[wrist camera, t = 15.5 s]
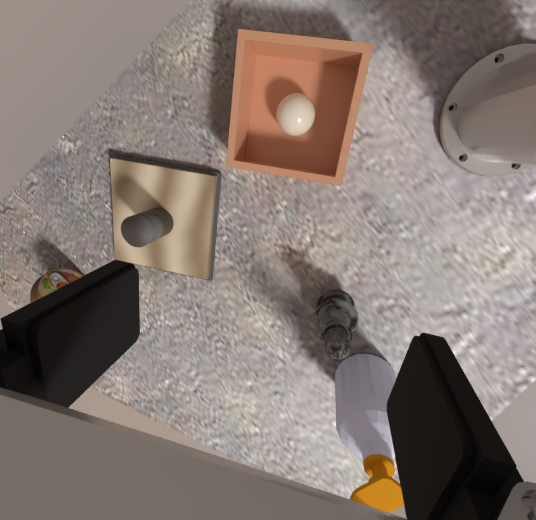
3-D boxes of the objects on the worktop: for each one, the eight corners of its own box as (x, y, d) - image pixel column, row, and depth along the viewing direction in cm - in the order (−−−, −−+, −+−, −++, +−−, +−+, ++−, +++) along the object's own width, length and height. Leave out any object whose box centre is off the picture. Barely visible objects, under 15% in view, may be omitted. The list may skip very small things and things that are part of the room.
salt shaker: (309, 293, 44) (303, 342, 33) (349, 283, 42) (357, 330, 31) (322, 327, 46) (320, 384, 34) (361, 318, 44) (372, 375, 33)
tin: (124, 332, 53) (90, 363, 46) (112, 337, 54) (76, 369, 47) (74, 259, 50) (27, 279, 42) (62, 266, 51) (14, 287, 43)
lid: (217, 175, 40) (195, 180, 34) (209, 276, 45) (189, 297, 39) (114, 158, 42) (75, 159, 35) (119, 257, 47) (86, 274, 41)
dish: (366, 61, 33) (373, 43, 28) (339, 180, 38) (340, 185, 32) (252, 48, 35) (238, 28, 29) (240, 164, 40) (226, 166, 34)
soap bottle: (408, 378, 46) (486, 601, 23) (363, 408, 49) (394, 628, 26) (364, 341, 45) (402, 535, 22) (323, 374, 48) (318, 571, 26)
